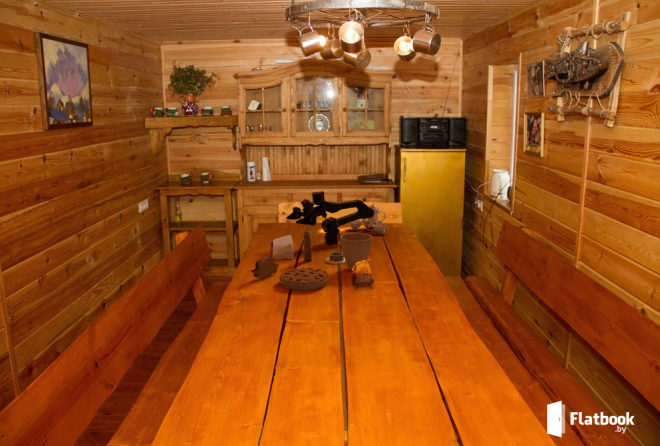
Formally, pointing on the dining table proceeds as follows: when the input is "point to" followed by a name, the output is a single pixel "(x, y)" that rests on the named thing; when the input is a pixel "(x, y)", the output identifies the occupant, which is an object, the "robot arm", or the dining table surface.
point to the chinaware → (371, 222)
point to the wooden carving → (265, 268)
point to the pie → (304, 278)
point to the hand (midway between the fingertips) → (291, 220)
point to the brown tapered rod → (307, 246)
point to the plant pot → (355, 247)
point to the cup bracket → (336, 258)
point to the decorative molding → (283, 247)
